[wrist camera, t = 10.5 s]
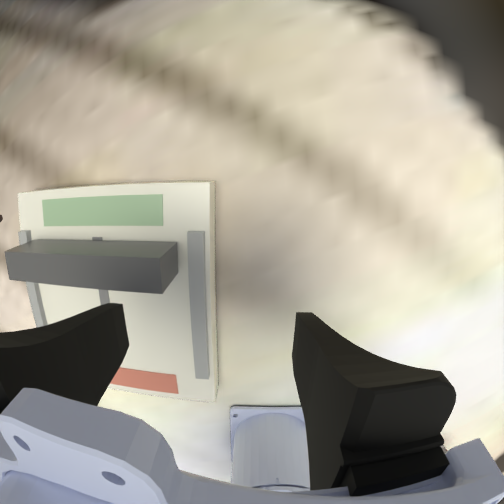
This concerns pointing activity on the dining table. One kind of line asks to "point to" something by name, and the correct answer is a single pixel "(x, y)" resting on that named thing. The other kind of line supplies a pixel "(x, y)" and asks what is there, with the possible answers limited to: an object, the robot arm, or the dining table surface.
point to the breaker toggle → (96, 264)
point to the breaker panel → (137, 304)
